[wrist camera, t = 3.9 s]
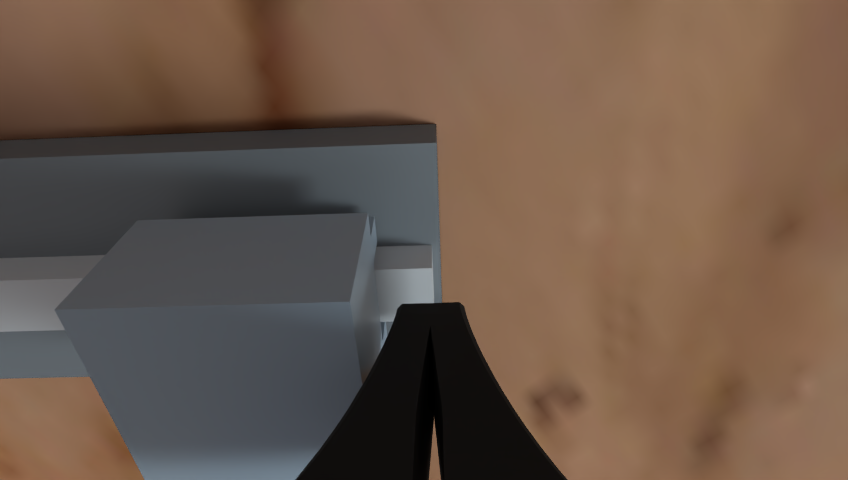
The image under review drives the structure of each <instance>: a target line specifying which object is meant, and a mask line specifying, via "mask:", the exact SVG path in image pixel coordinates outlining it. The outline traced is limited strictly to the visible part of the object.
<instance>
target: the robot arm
mask: <svg viewBox="0 0 848 480" xmlns="http://www.w3.org/2000/svg"><path fill="white" fill-rule="evenodd" d="M434 419H435V428H436V437H437V447H438V456H439V465H440V474H441V480H567V479H566V477H565V476H564V475H563V474H562V473H561V472H560V471H559V469H558V468H557V467H556V466H555V464H554V463H553V462H552V461H551V459H550V458H549V457H548V456H547V454H546V453H545V452H544V451H543V449H542V448H541V447H540V445H539V444H538V443H537V441H536V440H535V439H534V437H533V436H532V434H531V433H530V432H529V430H528V429H527V428H526V426H525V425H524V423H523V422H522V420H521V419H520V417H519V416H518V414H517V413H516V411H515V410H514V408H513V407H512V405H511V404H510V402H509V400H508V399H507V397H506V396H505V394H504V392H503V391H502V389H501V387H500V386H499V384H498V382H497V381H496V379H495V377H494V375H493V373H492V371H491V370H490V368H489V366H488V364H487V362H486V360H485V358H484V356H483V354H482V352H481V350H480V348H479V346H478V344H477V342H476V339H475V337H474V335H473V332H472V330H471V327H470V325H469V322H468V319H467V316H466V312H465V308H464V306H463V305H462V304H461V303H459V302H453V303H412V304H402V305H400V306H399V307H398V308H397V311H396V315H395V318H394V321H393V324H392V326H391V329H390V331H389V334H388V336H387V338H386V340H385V343H384V345H383V347H382V349H381V351H380V353H379V355H378V357H377V359H376V361H375V363H374V365H373V367H372V369H371V371H370V372H369V374H368V376H367V378H366V380H365V381H364V383H363V385H362V386H361V388H360V390H359V391H358V393H357V395H356V396H355V398H354V400H353V401H352V403H351V405H350V406H349V408H348V409H347V411H346V413H345V414H344V416H343V417H342V419H341V420H340V422H339V423H338V424H337V426H336V427H335V429H334V430H333V432H332V433H331V434H330V436H329V437H328V439H327V440H326V441H325V443H324V444H323V445H322V447H321V448H320V449H319V451H318V452H317V453H316V454H315V456H314V457H313V458H312V459H311V461H310V462H309V463H308V464H307V466H306V467H305V468H304V469H303V471H302V472H301V473H300V474H299V476H298V477H297V478H296V479H295V480H429V469H430V458H431V446H432V434H433V422H434Z"/></svg>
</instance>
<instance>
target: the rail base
mask: <svg viewBox="0 0 848 480" xmlns="http://www.w3.org/2000/svg"><path fill="white" fill-rule="evenodd" d="M346 213H368V217H369V216H374V217H375V226H376V235H377V246H376V252H375V258H374V269H375V278H376V287H377V296H378V305H379V313H380V322H386V329H387V336H388V334H389V331H390V329H391V326H392V324H393V321H394V318H395V315H396V311H397V308H398V307H399V306H400V305H402V304H412V303H442V291H441V261H440V230H439V199H438V168H437V138H436V124H423V125H397V126H370V127H344V128H317V129H291V130H265V131H238V132H212V133H186V134H159V135H133V136H106V137H80V138H54V139H27V140H1V141H0V379H4V378H47V377H90V376H89V374H88V372H87V370H86V368H85V366H84V365H83V363H82V361H81V359H80V357H79V355H78V353H77V351H76V350H75V348H74V346H73V344H72V342H71V340H70V338H69V336H68V334H67V333H66V331H65V329H64V327H63V325H62V323H61V321H60V319H59V318H58V316H57V314H56V312H55V309H56V307H57V306H58V305H59V304H60V303H61V302H62V301H63V300H64V299H65V298H66V297H67V296H68V295H69V293H70V292H71V291H72V290H73V289H74V288H75V287H76V286H77V285H78V284H79V283H80V282H81V281H82V279H83V278H84V277H85V276H86V275H87V274H88V273H89V272H90V271H91V270H92V269H93V268H94V267H95V265H96V264H97V263H98V262H99V261H100V260H101V259H102V258H103V257H104V256H105V255H106V254H107V253H108V252H109V250H110V249H111V248H112V247H113V246H114V245H115V244H116V243H117V242H118V241H119V240H120V239H121V238H122V236H123V235H124V234H125V233H126V232H127V231H128V230H129V229H130V228H131V227H132V226H133V225H134V224H135V222H136V221H137V220H162V219H193V218H223V217H254V216H285V215H315V214H346Z"/></svg>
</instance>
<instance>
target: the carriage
mask: <svg viewBox="0 0 848 480" xmlns="http://www.w3.org/2000/svg"><path fill="white" fill-rule="evenodd" d="M376 246H377V235H376V226H375V217H374V216H369V217H368V213H346V214H315V215H285V216H254V217H223V218H193V219H162V220H137V221H136V222H135V224H134V225H133V226H132V227H131V228H130V229H129V230H128V231H127V232H126V233H125V234H124V235H123V236H122V238H121V239H120V240H119V241H118V242H117V243H116V244H115V245H114V246H113V247H112V248H111V249H110V250H109V252H108V253H107V254H106V255H105V256H104V257H103V258H102V259H101V260H100V261H99V262H98V263H97V264H96V265H95V267H94V268H93V269H92V270H91V271H90V272H89V273H88V274H87V275H86V276H85V277H84V278H83V279H82V281H81V282H80V283H79V284H78V285H77V286H76V287H75V288H74V289H73V290H72V291H71V292H70V293H69V295H68V296H67V297H66V298H65V299H64V300H63V301H62V302H61V303H60V304H59V305H58V306H57V307H56V309H55V312H56V314H57V316H58V318H59V319H60V321H61V323H62V325H63V327H64V329H65V331H66V333H67V334H68V336H69V338H70V340H71V342H72V344H73V346H74V348H75V350H76V351H77V353H78V355H79V357H80V359H81V361H82V363H83V365H84V366H85V368H86V370H87V372H88V374H89V376H90V378H91V380H92V381H93V383H94V385H95V387H96V389H97V391H98V393H99V395H100V397H101V398H102V400H103V402H104V404H105V406H106V408H107V410H108V412H109V413H110V415H111V417H112V419H113V421H114V423H115V425H116V427H117V428H118V430H119V432H120V434H121V436H122V438H123V440H124V442H125V444H126V445H127V447H128V449H129V451H130V453H131V455H132V457H133V459H134V460H135V462H136V464H137V466H138V468H139V470H140V472H141V474H142V475H143V477H144V479H145V480H295V479H296V478H297V477H298V476H299V474H300V473H301V472H302V471H303V469H304V468H305V467H306V466H307V464H308V463H309V462H310V461H311V459H312V458H313V457H314V456H315V454H316V453H317V452H318V451H319V449H320V448H321V447H322V445H323V444H324V443H325V441H326V440H327V439H328V437H329V436H330V434H331V433H332V432H333V430H334V429H335V427H336V426H337V424H338V423H339V422H340V420H341V419H342V417H343V416H344V414H345V413H346V411H347V409H348V408H349V406H350V405H351V403H352V401H353V400H354V398H355V396H356V395H357V393H358V391H359V390H360V388H361V386H362V385H363V383H364V381H365V380H366V378H367V376H368V374H369V372H370V371H371V369H372V367H373V365H374V363H375V361H376V359H377V357H378V355H379V353H380V351H381V349H382V347H383V345H384V343H385V340H386V338H387V329H386V322H380V313H379V305H378V296H377V287H376V278H375V269H374V258H375V252H376Z"/></svg>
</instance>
